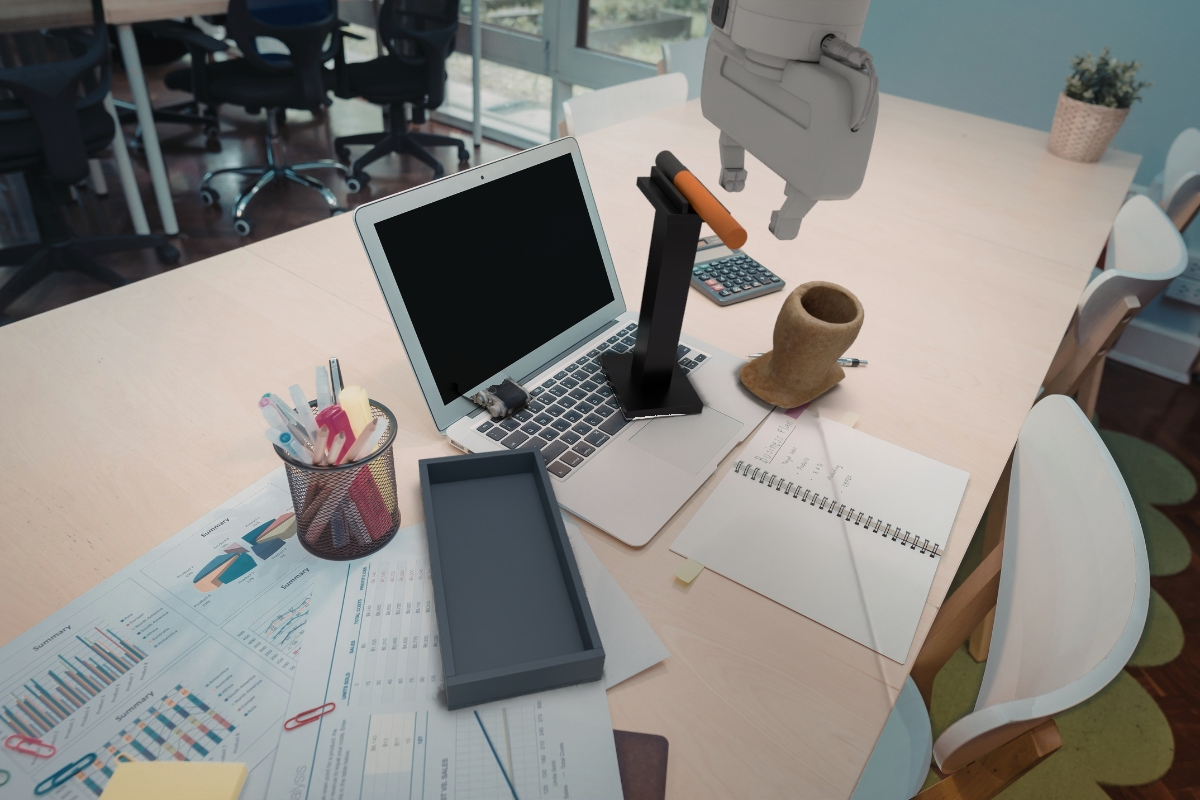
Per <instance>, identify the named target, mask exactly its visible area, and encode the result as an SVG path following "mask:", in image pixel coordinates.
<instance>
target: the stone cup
mask: <svg viewBox="0 0 1200 800" xmlns="http://www.w3.org/2000/svg"><path fill="white" fill-rule="evenodd" d="M864 321H865V309H864V306H863V304H862V302H861V301H860V300H859V299H858V297H857V296H856V295H855V294H854V293H853V292H852V291H851V290H850V289H848V288H846V287H844V286H842V285H840V284H838V283H834V282H830V281H826V280H825V281H824V280H811V281H808V282H804V283H801V284H800V285H799V286H797V287H795V288H794V289H793V290H792V291H791V292H790V293H789V295H788V296H787V297H786V298H785V300H784V301H783V303H782V305H781V308H780V310H779V313H778V314H777V316H776V320H775V324H774V327H773V332H772V349H771V350H768V351H766V352H765V353H763V354H761V355H759V356H757V357H756V358H754V359H751V360H750V361H749V362H747V363H746V364H744V365H743V366H742V367H741V369H740V370H739V372H738V377H739V380H740V382H741V383H742V384H743V386H744V387H745V388H746V389H747V390H748V391H750V392H751V393H752V394H753V395H754V396H756V397H757V398H758V399H760V400H762V401H764V402H765V403H767V404H770V405H772V406H777V407H779V408H781V409H793V408H798V407H800V406H803V405H805V404H807V403H809V402H812V401H813V400H815V399H816V398H818V397H819V396H821V395H823V394H824V393H826V392H827V391H828V390H830V389H831V388H833V387H834V386H836V385H838V384H839V383H841V382H842V381H843V380H844V379H845V378H846V373H845V371H844V369H843V367H841V365H840V364H839V362H838V361H839V360H840V359H841V357H842V356H843V355H844V354H845V353H846V352H847V351H848V350H849V349H850V348H851V347H852V345H854V343H855V341H856V340H857V337H858V336H859V334H860V332H861V329H862V326H863V324H864Z"/></svg>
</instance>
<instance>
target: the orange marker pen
mask: <svg viewBox="0 0 1200 800" xmlns="http://www.w3.org/2000/svg"><path fill="white" fill-rule="evenodd" d="M654 159H655V160H654V164H655V166H657V167H658V168H659V170H660V171H661V172H662V173H663V174H664V175H665V176H666V178H667V179H668V180H669V181H670V182H671V183H672V184H673V185H674V187H675V188H676V189H677V190H678V191H679V192H680V193H681V195H682V196H683V197H684V198H685V199H686V200H687V201H688V202H689V204H690V205H691V206H692V207H693V209H694V210H695V211H696V212H697V213H698V214H699V215H700V217H701V218H702V219H703V220H704V221H705V222H706V223H705V224H707V226H708V227H709V228H710V230H711V231H713V233H714V234H715V235H716V236H717V237H718V238H719V239H720V241H722V243H723V244H724V245H725V246H726V248H728V249H729V250H732V251H734V250H739V249H741V248H742V247H744V245H746V242H747V240H748V232H747V229H745V228H744V227H743V226H742V225H741V223H739V222H738V221H737V220H736V219H735V218H734V216H733V215H732V214H731V215H730V214H729V213H728V211H729V210H728V209H727V208H726V207H725V206H724V205H723V206H724V207H725V208H726V209H727V210H728V211H727V210H726V209H725V208H724V207H723V206H722V205H721V204H720V203H719V202H718V201H717V200H716V199H715V198H714V197H713V196H712V195H711V194H710V193H709V192H708V190H709V189H708V188H707V187H706V186H705V185H704V184H703V183H702V182H701V181H700V180H699V179H698V180H699V181H700V182H701V183H702V184H703V185H704V186H705V187H706V188H707V189H708V190H707V189H706V188H705V187H704V186H703V185H702V184H701V183H700V182H699V181H698V180H697V179H696V178H695V177H694V176H695V175H694V174H693V173H692V172H691V171H690V170H689V168H688V167H687V166H686V167H685V165H684V164H683V163H682V162H681V160H679V159H678V157H676V156H675V155H674V153H673V152H672V151H670V150H667V149H666V150H661V151H660V152H658V153H657V155H656V157H655V158H654ZM688 170H689V171H690V172H691V173H692V174H693V175H694V176H693V175H692V174H691V173H690V172H689V171H688Z"/></svg>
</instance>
